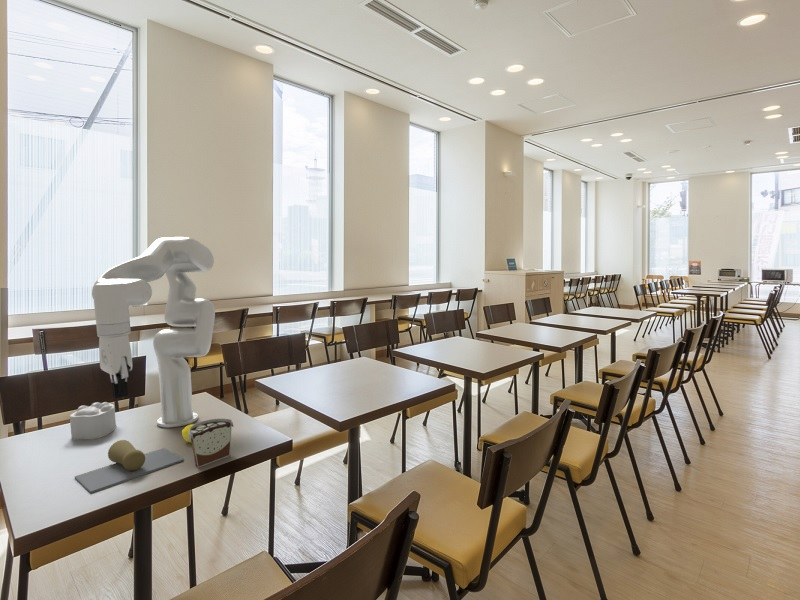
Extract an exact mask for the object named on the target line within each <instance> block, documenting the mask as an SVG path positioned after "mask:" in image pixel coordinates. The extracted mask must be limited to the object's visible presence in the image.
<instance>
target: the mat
mask: <svg viewBox="0 0 800 600" xmlns="http://www.w3.org/2000/svg"><path fill="white" fill-rule="evenodd" d="M144 455H145V462H144V464H143V466H142V467H141V468H139V469H138V470H135V471H129V470H127V469H125V468H124V466H123V465H121V464H118V463H115V462H114V463H111V464H110V465H109V464H108V465H106V466H103V467H100V468H97V469H94V470H91V471H88V472H87V471H86V472H84V473H81V474H77V475H74V479H75V480H76V481H77V482H78V483H79V484H81V486H82V487H83V488H84V489H86V491H88V492H89V494H93V492H94V493H97V492H99V491H102V490H105V489H108V488H111V487H114V486H116V485H119V484H122V483H124V482H127V481H130V480H133V479H136V478H139V477H142V476H144V475H147V474H150V473H152V472H156V471H159V470H162V469H165V468H168V467H171V466H173V465H175V464H176V465H177V464H179V463H181V462H184V461H185V460H184V458H183V457H181V456H179V455H177V454H176V453H174V452H172V451H171V450H169V449H167V448H166V447H163V448H159V449H156V450H153V451H150V452H147V453H144Z"/></svg>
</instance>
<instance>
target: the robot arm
mask: <svg viewBox="0 0 800 600" xmlns="http://www.w3.org/2000/svg"><path fill="white" fill-rule="evenodd" d="M214 259H215V258H214V255H213V253H212V251H211V250H210V248H208V247H207V246H205V245H204V244H202V243H201V242H200V241H198V240H197V239H194V238H192V237H190V236H189V237H187V236H185V237H184V236H174V237H172V236H171V237H169V236H168V237H159V238H157V239H155V240H154V241H153V242H152V243H151V244H150V245H149V246H148V247H147V248H146V249H145V250H144V251H143V252H142V253H141V254H140V255H139V256H137V257H135V258H132V259H130V260H128V261H125V262H122V263H121V264H118V265H114V266H113V267H111V268H109V269H108V270H106V271H105V272H104V273H102V275H100V276H99V278H97V280H96V281H95V282H94V284H93V286H92V289H91V296H92V300H93V306H94V315H95V316H94V317H95V323H96V324H95V325H96V334H97V337H98V338H99V339H98V349H99V350H98V351H99V352H98V353H99V368H100V369H101V371H103V372H105V373H107V374H109V377H110V382H111V394H112V398H114V399H119V398H120V399H121V398H124V397H128V395H129V391H128V378H129V372H131V371H132V370H133V357H132V349H131V342H130V339H129V335H130V334H132V329H131V328H132V327H131V321H130V310H129V309H130V308H129V307H139V306H143V305H145V304H146V303H148V302H149V301H150V300H151V298H152V295H153V294H152V293H153V289H152V286H151V285H150V283H151V282H154V281H156V280H157V281H158V280H160V279H161V278H162V277H163V276H164V275H165V276H166V278H167V280H168V285H169V287H168V288H169V289H168V295H167V299H166V303H165V304H166V305H165V309H164V321H165V323H166V324H167V325H168V326H172V327H175V328H164V329H162V330H159V331H158V332H157V333H156V334H155V335H154V337H153V343H152V345H153V350H154V354H155V356H156V362H157V369H158V383H159V396H160V411H161V416H160V417H159V418H157V420H156V425H157V426H158V427H160V428H178V427H182V426H187V425H190V424H194V423H195V422H196V421H197V420H198V419H199V414H198V413H197V412H194V409H193V394H192V392H193V391H192V376H191V375H192V374H191V367H190V365H189V363H188V362H187V360H186V359H185V358H198V357H199V358H201V357H204V356H206V355H208V353H209V352H210V350H211V344H212V340H213V331H214V327H215V326H214V325H215V318H216V310H215V305H214V304H213V302H212V301H211V300H209V299H208V298H196V294H197V287H196V284H195V283H194V281H193V280H192V279H191V278H190V276H189V275H188V274H187V273H206V272H209V271H211V270H212V268H213V267H214V263H215V262H214V261H215V260H214ZM176 327H177V328H176ZM179 327H180V328H179ZM181 327H182V328H181ZM184 327H187V328H184ZM190 327H192V328H190ZM193 327H195V328H193Z"/></svg>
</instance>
